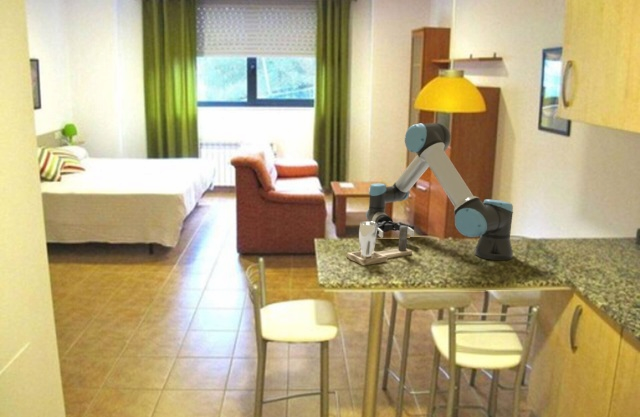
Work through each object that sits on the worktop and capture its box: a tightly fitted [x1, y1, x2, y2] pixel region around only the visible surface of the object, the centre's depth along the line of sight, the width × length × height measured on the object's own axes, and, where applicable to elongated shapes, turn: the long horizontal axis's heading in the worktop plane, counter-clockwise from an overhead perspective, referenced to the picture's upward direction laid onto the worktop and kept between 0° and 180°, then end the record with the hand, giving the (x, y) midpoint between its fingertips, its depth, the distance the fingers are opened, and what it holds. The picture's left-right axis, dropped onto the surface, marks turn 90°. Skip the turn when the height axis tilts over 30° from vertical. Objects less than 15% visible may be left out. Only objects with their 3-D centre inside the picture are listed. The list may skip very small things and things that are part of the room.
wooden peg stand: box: [346, 226, 413, 266], centre depth 240 cm, size 11×27×12 cm, turn 122°
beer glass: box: [358, 220, 378, 259], centre depth 236 cm, size 7×7×15 cm
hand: (397, 234), depth 251 cm, fingers open, 13 cm apart
